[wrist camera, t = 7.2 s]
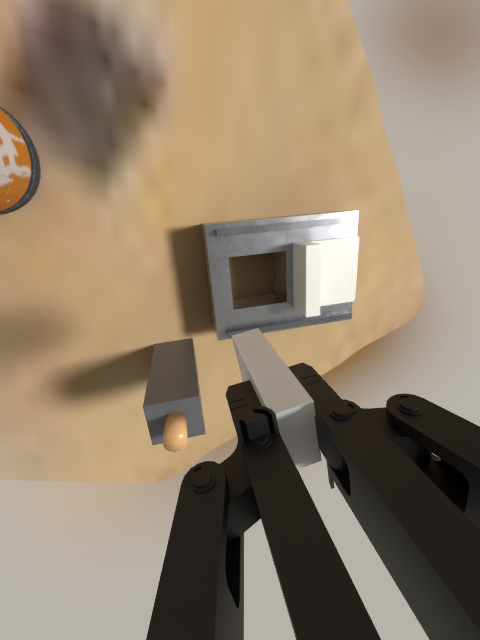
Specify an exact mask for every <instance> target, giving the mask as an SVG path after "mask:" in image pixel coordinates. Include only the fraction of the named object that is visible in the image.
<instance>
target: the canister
mask: <svg viewBox="0 0 480 640" xmlns="http://www.w3.org/2000/svg"><path fill="white" fill-rule="evenodd" d="M39 181H40V162H39V157H38V154H37V151H36V148H35V146H34V144H33V142H32V140H31V138H30V137H29V135H28V133H27V132H26V131H25V129H24V128H23V127H22V126H21V124H20V123H19V122H18V121H17V120H16V119H15V118H14V117H13V116H12V115H11V114H9V113H8V112H7V111H5V110H4V109H3V108H1V107H0V214H1V213H8V212H12V211H15V210H17V209H19V208H21V207H23V206H24V205H26V204H27V203H28V202H29V201H30V200H31V199H32V197H33V196H34V194H35V193H36V191H37V188H38V185H39Z"/></svg>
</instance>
